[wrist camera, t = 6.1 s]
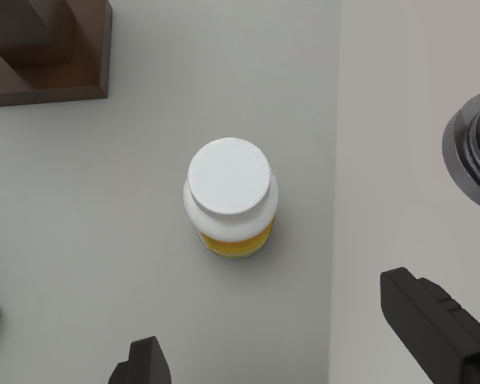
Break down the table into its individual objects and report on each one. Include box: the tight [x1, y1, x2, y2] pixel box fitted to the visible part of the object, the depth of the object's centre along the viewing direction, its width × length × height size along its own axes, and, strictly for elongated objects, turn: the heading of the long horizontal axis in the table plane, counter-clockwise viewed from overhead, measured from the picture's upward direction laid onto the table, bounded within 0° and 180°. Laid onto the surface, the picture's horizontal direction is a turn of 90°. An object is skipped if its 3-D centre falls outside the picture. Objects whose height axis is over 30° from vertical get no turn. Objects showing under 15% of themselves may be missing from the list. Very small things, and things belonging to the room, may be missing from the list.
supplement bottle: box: [183, 138, 279, 259], centre depth 21 cm, size 5×5×10 cm
